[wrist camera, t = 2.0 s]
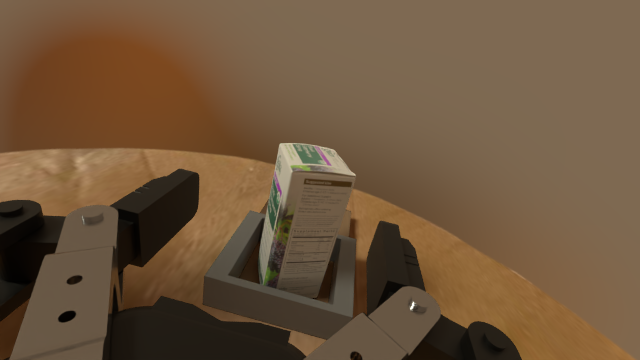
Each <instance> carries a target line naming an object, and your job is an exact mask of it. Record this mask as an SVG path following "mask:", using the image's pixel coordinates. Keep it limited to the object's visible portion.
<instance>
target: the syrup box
mask: <svg viewBox="0 0 640 360" xmlns="http://www.w3.org/2000/svg"><path fill="white" fill-rule="evenodd" d="M355 179H356V175H355V174H354V173H353V172H351V171H350V169H349V168H348V167H347V165H346V164H345V163H344V161H343V160H342V159H341V158H340V157H339V155H338V154H337V153H336V151H335V150H333V149H329V148H325V147H320V146H316V145H309V144H298V143H297V144H296V143H281V144H280V145H279V150H278V156H277V161H276V167H275V172H274V177H273V182H272V187H271V192H270V197H269V202H268V207H267V212H266V217H265V223H264V228H263V233H262V239H261V244H260V250H259V256H258V273H259V281H260V284H261V285H264V286H268V287H272V288H275V289H279V290H282V291H286V292H289V293H293V294H297V295H300V296H304V297H307V298H317V297H318V293H319V291H320V288H321V284H322V281H323V278H324V275H325V272H326V269H327V266H328V263H329V260H330V256H331V253H332V250H333V247H334V244H335V241H336V238H337V235H338V232H339V229H340V225H341V222H342V219H343V216H344V213H345V210H346V207H347V204H348V201H349V198H350V194H351V191H352V188H353V185H354V182H355Z"/></svg>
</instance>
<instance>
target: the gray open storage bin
mask: <svg viewBox="0 0 640 360" xmlns="http://www.w3.org/2000/svg"><path fill="white" fill-rule="evenodd" d="M265 217H266V215H265V214H262V213H258V212H254V211H249V213H248V214H247V216H246V217H245V219H244V220H243V221H242V223H241V224H240V226H239V227H238V229H237V230H236V232H235V233H234V234H233V236H232V237H231V239H230V240H229V242H228V243H227V244H226V246H225V247H224V249H223V250H222V252H221V253H220V254H219V256H218V257H217V259H216V260H215V262H214V263H213V265H212V266H211V267H210V269H209V270H208V272H207V273H206V275H205V276H204V291H203V305H207V306H210V307H214V308H217V309H221V310H224V311H228V312H231V313H235V314H238V315H242V316H245V317H249V318H253V319H256V320H260V321H263V322H267V323H270V324H274V325H277V326H281V327H284V328H288V329H291V330H295V331H298V332H302V333H305V334H309V335H313V336H316V337H320V338H323V339H327V340H328V339H329V338H330V337H332V336H333V335H334V334H335V333H337V332H338V331H339V330H340V329H342V328H343V327H344V326H345V325H346V324H348V323H349V322H350V321H351V320H352V318H353V299H354V277H355V255H356V239H354V238H350V237H346V236H343V235H339V234H338V235H337V238H336V241H335V244H334V247H333V250H332V253H331V256H330V260H329V261H333V262H334V266H333V273H332V280H331V287H330V294H329V301H328V303H325V302H322V301H318V300H314V299H311V298H307V297H304V296H300V295H297V294H293V293H289V292H286V291H282V290H279V289H275V288H272V287H268V286H264V285H261V284H257V283H254V282H250V281H246V280H243V279H239V276H240V274H241V272H242V271H243V269H244V267H245V265H246V263H247V261H248V260H249V258H250V256H251V254H252V252H253V250H254V249H255V247H256V245H257V243H258V241H260V242H261V239H262V233H263V228H264V223H265Z"/></svg>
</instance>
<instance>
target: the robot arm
mask: <svg viewBox="0 0 640 360" xmlns="http://www.w3.org/2000/svg"><path fill="white" fill-rule="evenodd" d="M198 202H199V175H198V173H196V172H192V171H188V170H184V169H178V170H176V171H175V172H173V173H171V174H170V175H168V176H167V177H166V176H164V177H160V178H157V179H153V180H151V181H149V182H148V183H146V184H145V185H143V187H140V188H138V189H136V190H135V192H132V193H130V194H128V195H127V196H125V197H123V198H122V199H120V200H118V201H117V202H115V203H114V204H112V205H110V206H105V205H93V206H86V207H82V208H79V209H77V210H74V211H73V212H71V213H70V214H68V215H67V217H63V216H43V213H42V209H41V206H40V204H39V203H37V202H34V201H30V200H12V201H6V202H1V203H0V321H2V320H3V319H4V318H5V317H7V316H8V315H9V314H10V313H12V312H13V311H14V310H15V309H17V308H18V307H19V306H20V305H21V304H23V303H24V302H25V301H26V300H28V299H29V298H30V297H31V298H30V301H29V304H28V307H27V310H26V313H25V316H24V319H23V322H22V325H21V328H20V330H19V333H18V336H17V339H16V342H15V345H14V348H13V351H12V354H11V357H9V358H7V359H4V360H522V359H521V357H520V355H519V352H518V350H517V348H516V346H515V345H514V344H513V342H512V341H511V340H510V339H509V338H508V337H507V336H506V335H505V334H504V333H503V332H502V331H500V330H499V329H497V328H496V327H494V326H492V325H490V324H488V323H485V322H479V321H478V322H473V323H471V324H470V325H469V327H468V328H467V329H466V328H465V327H463V326H461V325H459V324H457V323H455V322H453V321H451V320H449V319H448V318H446V317H444V316H443V315H442V314H441V311H440V307H439V305H438V303H437V302H436V301H435V299H434V298H433V297H432V296H430V295H429V294H428V293H426V290H425V287H424V283H423V279H422V275H421V271H420V267H419V263H418V259H417V255H416V251H415V248H414V247H413V245H412V244H411V243H410V242H409V240H407V239H404V238H401V236H400V231H399V226H398V225H396V224H392V223H388V222H384V221H380V222H379V224H378V226H377V229H376V232H375V235H374V238H373V240H372V243H371V246H370V249H369V252H368V257H367V315H366V314H365V313H360V314H359V315H357V316H356V317H355V318H354V319H353V320H351V321H350V322H349V323H348V324H346V325H345V326H344V327H343V328H342V329H340V330H339V331H338V332H337V333H335V334H334V335H333V336H332V337H330V338H329V339H328V340H327V341H326V342H324V343H323V344H322V345H321V346H319V347H318V348H317V349H316V350H315V351H313V352H312V353H311V354H310V355H308V356H307V357H306V356H305V355H304V354H303V353H302V352H301V351H300V350H299V349H297V348H296V347H295V346H293V345H292V344H290V343H288V340H289V336H290V332H291V331H287V330H283V329H280V328H276V327H273V326H269V325H265V324H262V323H255V322H227V321H220V320H218V319H217V318H215V317H213V316H211V315H210V314H208V313H206V312H205V311H203V310H201V309H199V308H198V307H196V306H194V305H193V304H189V303H185V302H182V301H178V300H174V299H171V298H167V297H163V296H161V297H160V298H159V299H158V301H157V302H156V303H155V304H154V305H153V306H143V307H135V308H129V309H125V310H124V268H125V267H126V266H127V265H128V264H131V265H135V266H139V267H143V266H144V265H145V264H146V263H147V262H148V261H149V260H150V259H151V258H152V257H153V256H154V255H155V254H156V253H157V252H158V251H159V250H160V249H161V248H162V247H163V246H165V245H166V244H167V243H168V242H169V241H170V240H171V239H172V238H173V237H174V236H175V235H176V234H177V233H178V232H179V231H180V230H181V229H182V228H183V227H184V226H185V225H186V224H187V223H188V222H189V221H190V220H191V219H192V218H193V217H194V215H195V214H196V212H197V209H198Z"/></svg>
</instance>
